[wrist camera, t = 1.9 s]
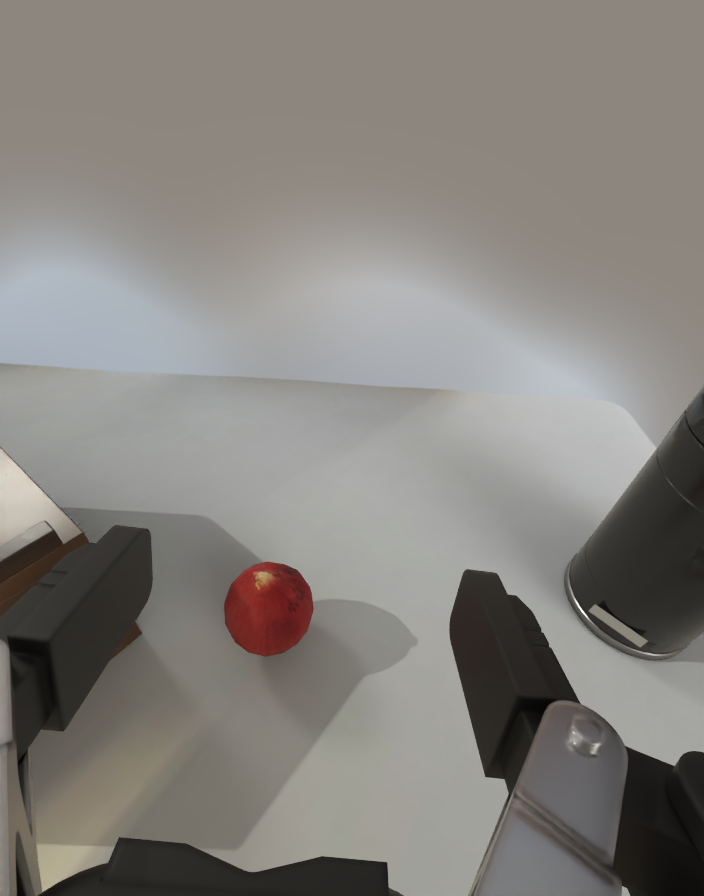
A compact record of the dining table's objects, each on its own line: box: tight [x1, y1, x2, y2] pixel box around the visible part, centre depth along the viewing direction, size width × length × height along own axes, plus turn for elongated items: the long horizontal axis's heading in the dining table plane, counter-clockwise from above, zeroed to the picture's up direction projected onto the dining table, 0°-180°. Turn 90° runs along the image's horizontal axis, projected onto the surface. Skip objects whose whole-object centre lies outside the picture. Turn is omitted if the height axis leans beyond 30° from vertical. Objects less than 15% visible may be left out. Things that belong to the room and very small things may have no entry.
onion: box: [224, 562, 313, 656], centre depth 29 cm, size 6×6×8 cm
